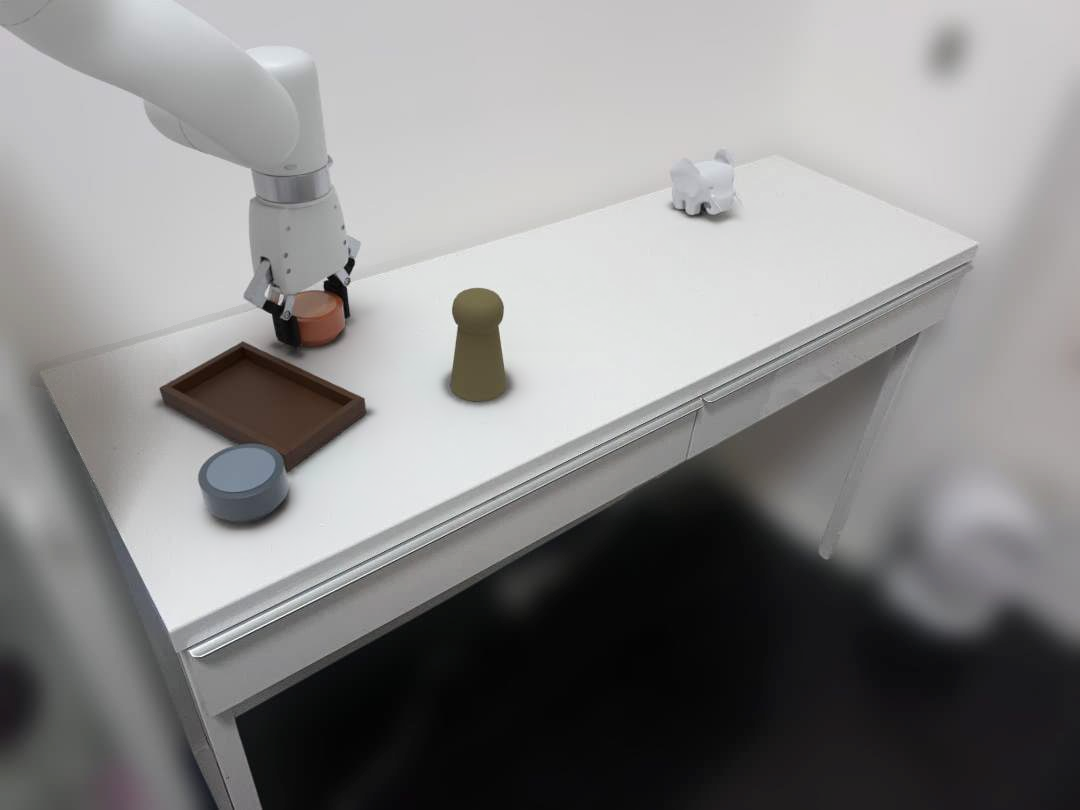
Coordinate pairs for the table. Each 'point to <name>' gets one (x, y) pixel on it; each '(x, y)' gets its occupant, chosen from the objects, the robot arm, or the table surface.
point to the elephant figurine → (704, 184)
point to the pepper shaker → (478, 346)
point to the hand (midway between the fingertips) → (314, 327)
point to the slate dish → (243, 482)
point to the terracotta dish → (318, 316)
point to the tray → (264, 402)
